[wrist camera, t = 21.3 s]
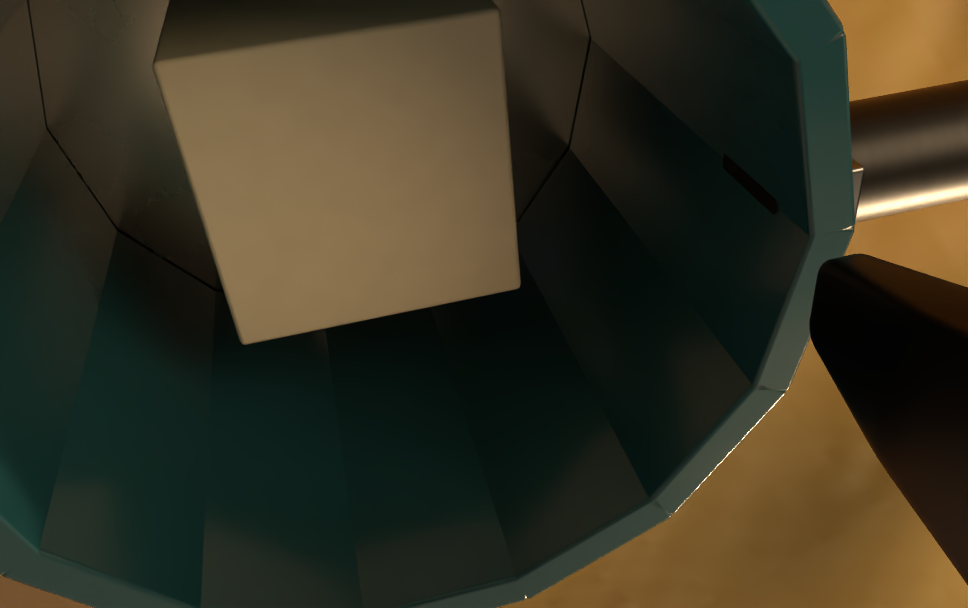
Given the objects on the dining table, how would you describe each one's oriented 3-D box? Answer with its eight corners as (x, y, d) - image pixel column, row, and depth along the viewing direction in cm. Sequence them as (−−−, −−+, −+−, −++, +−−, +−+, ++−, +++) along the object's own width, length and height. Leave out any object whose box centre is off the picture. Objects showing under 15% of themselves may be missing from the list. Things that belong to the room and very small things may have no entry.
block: (438, -62, 15) (502, 7, 11) (463, 172, 17) (522, 290, 14) (173, -25, 14) (149, 63, 10) (241, 212, 17) (241, 348, 13)
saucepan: (-137, -238, 12) (-616, -188, 5) (1184, -377, 15) (1948, -458, 8) (119, 357, 19) (48, 725, 12) (1015, 174, 22) (1372, 382, 15)
